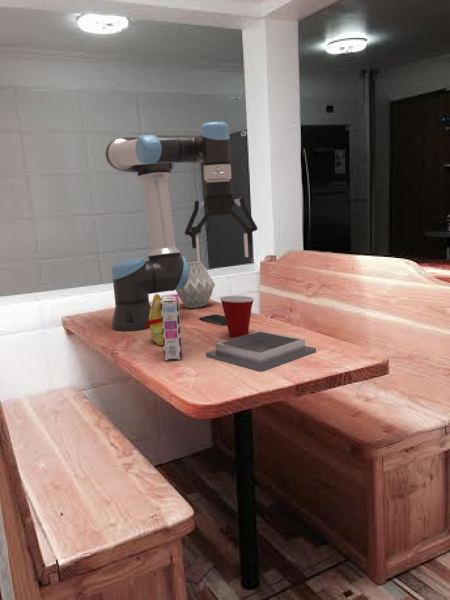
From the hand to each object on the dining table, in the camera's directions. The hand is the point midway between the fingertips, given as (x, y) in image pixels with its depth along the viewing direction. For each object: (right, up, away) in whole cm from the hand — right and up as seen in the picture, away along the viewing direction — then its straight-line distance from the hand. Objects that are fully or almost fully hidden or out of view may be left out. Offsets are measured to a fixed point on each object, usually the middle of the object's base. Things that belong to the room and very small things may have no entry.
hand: (222, 258), depth 151 cm
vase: (-11, -14, +65) cm, 67 cm away
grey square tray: (+10, -26, -6) cm, 29 cm away
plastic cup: (+5, -23, +15) cm, 28 cm away
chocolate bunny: (-20, -25, +12) cm, 34 cm away
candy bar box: (-13, -27, -2) cm, 31 cm away
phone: (-1, -20, +36) cm, 41 cm away
